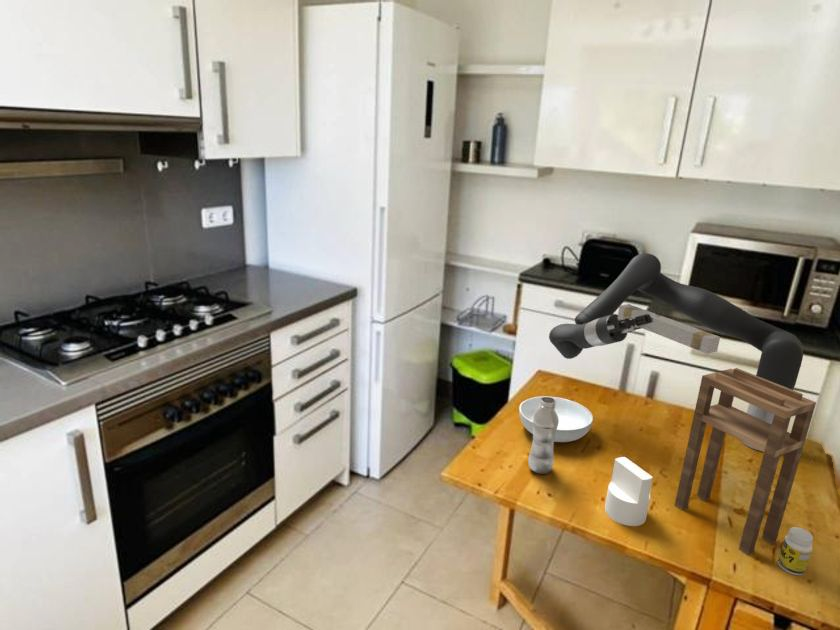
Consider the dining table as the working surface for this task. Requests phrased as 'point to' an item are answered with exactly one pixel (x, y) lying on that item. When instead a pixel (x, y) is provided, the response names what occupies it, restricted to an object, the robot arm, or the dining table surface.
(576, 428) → the serving bowl
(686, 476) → the walnut shelf
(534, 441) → the plastic bottle
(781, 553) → the supplement bottle
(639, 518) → the base with upright slab
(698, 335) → the bar
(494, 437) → the dining table surface
